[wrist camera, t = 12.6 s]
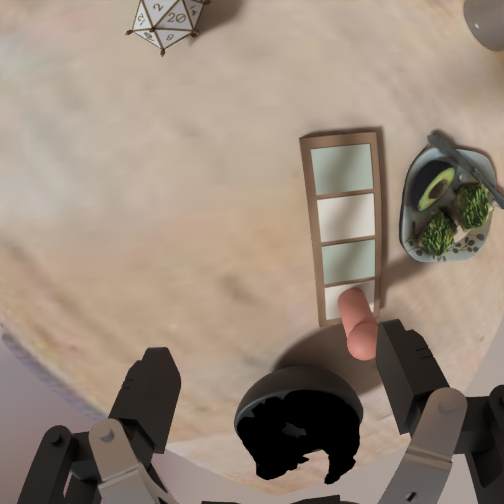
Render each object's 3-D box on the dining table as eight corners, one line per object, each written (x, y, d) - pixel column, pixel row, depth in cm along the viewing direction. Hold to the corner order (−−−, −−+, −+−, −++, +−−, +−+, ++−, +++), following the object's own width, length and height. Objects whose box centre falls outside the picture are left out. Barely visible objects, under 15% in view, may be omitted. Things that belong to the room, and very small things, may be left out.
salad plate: (507, 150, 32) (526, 156, 28) (488, 257, 40) (503, 270, 35) (404, 129, 33) (421, 131, 29) (390, 258, 40) (402, 274, 36)
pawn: (367, 285, 40) (390, 337, 30) (365, 311, 42) (385, 364, 32) (335, 289, 40) (351, 343, 31) (335, 315, 42) (349, 370, 32)
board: (371, 131, 33) (376, 132, 32) (376, 311, 44) (379, 317, 42) (298, 138, 34) (300, 139, 32) (318, 320, 45) (320, 327, 43)
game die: (195, 21, 31) (234, -18, 23) (178, 73, 32) (216, 37, 23) (132, 2, 26) (157, -45, 18) (109, 55, 27) (126, 9, 18)
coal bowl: (218, 358, 49) (201, 457, 32) (337, 322, 45) (365, 425, 28) (263, 421, 56) (261, 502, 39) (360, 395, 52) (380, 478, 35)
